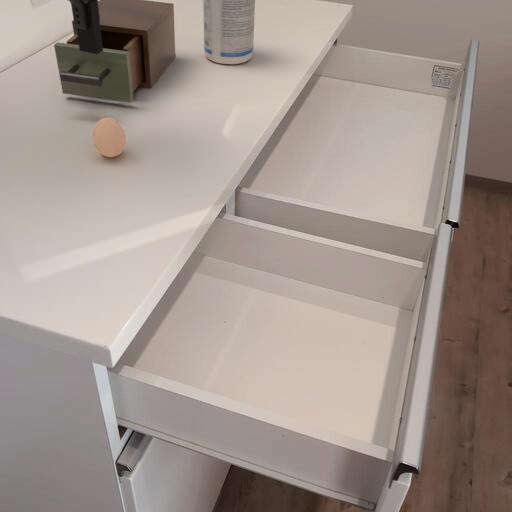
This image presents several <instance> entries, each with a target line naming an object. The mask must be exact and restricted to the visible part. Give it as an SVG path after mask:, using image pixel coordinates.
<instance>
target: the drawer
mask: <svg viewBox="0 0 512 512" xmlns="http://www.w3.org/2000/svg"><path fill="white" fill-rule="evenodd" d="M101 38H102V46H103V51H102V52H100V53H98V54H93V53H88V52H84V51H80V49H79V43H78V36H77V33H76V34H75V35H74V34H73V36H71V37H70V38H69V39H67V40H66V42H59V41H57V42H56V43H54V44H53V47H54V52H55V59H56V63H57V69H58V74H59V80H60V85H61V91H62V92H61V93H62V94H63V95H64V94H65V95H71V96H78V97H85V98H86V97H87V98H92V99H100V100H107V101H114V102H122V103H129V104H131V103H133V101H134V91H136V89H137V88H139V87H138V85H139V84H140V83H141V82H142V80H143V79H144V78H145V77H146V76H145V62H144V49H143V35H135V34H127V33H120V32H112V31H104V30H101Z"/></svg>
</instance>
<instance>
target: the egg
mask: <svg viewBox="0 0 512 512" xmlns="http://www.w3.org/2000/svg"><path fill="white" fill-rule="evenodd" d="M126 136H127V135H126V132H125V129H124V128H123V127H122V125H121V124H120V123H119V122H118V121H117V120H116V119H114V118H112V117H103V118H100V120H98V121H97V123H96V124H95V126H94V128H93V131H92V143H93V146H94V148H95V150H96V151H97V152H98V154H100V155H102V156H104V157H106V158H115V157H118V156H119V155H120V154H121V153H122V152H123V151H124V150H125V149H126V148H125V147H126V146H127V145H126V144H127V137H126Z"/></svg>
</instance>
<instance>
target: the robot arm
mask: <svg viewBox="0 0 512 512" xmlns="http://www.w3.org/2000/svg"><path fill="white" fill-rule="evenodd" d="M98 1H99V0H68V2H69V3H70V7H71V12H72V13H71V14H72V16H73V17H72V20H74V25H75V27H76V30H77V36H78V43H79V49H80V51H84V52H88V53H93V54H98V53H100V52H102V51H103V46H102V38H101V30H100V14H99V6H98Z"/></svg>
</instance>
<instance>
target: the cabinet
mask: <svg viewBox="0 0 512 512" xmlns="http://www.w3.org/2000/svg"><path fill="white" fill-rule="evenodd" d="M98 6H99V14H100V30H104V31H112V32H120V33H127V34H135V35H143V49H144V62H145V76H146V77H145V78H144V79H143V80H142V82H141V83H140V84H139V85H138V87H137V88H145V89H152V88H153V87H154V85H155V84H156V83H157V82H158V81H159V79H160V78H161V77H162V75H163V74H164V73H165V71H166V70H167V69H168V68H169V66H170V65H171V64H172V62H174V60H175V58H176V37H175V36H176V35H175V34H176V33H175V7H174V3H171V2H162V1H156V0H155V1H154V0H98ZM71 24H72V30H73V36H74V35H75V34H76V33H77V30H76V27H75V25H74V19H72V20H71Z"/></svg>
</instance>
